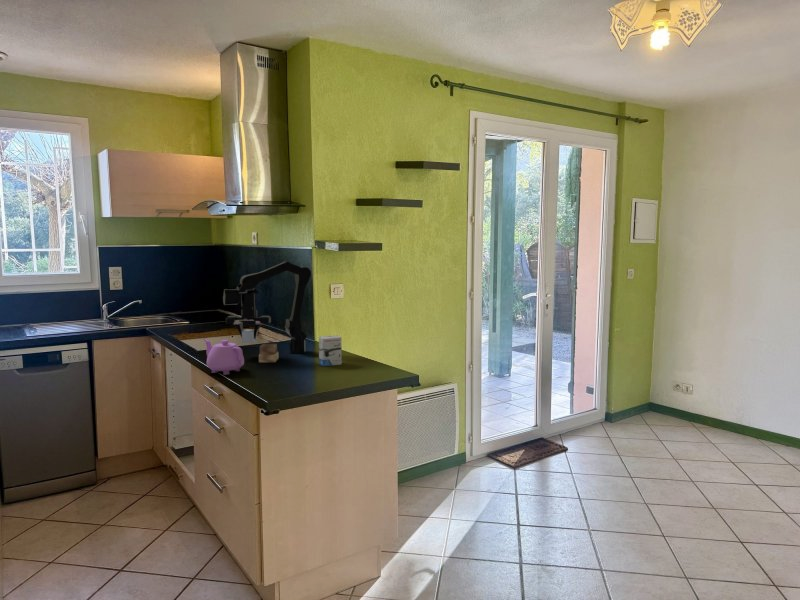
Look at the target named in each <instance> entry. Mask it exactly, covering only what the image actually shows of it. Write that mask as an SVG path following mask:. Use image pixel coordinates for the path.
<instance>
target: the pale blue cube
mask: <svg viewBox="0 0 800 600" xmlns="http://www.w3.org/2000/svg"><path fill="white" fill-rule="evenodd" d="M256 341H257V338H256V339H254V329H249V328H247V329H244V328H243V331H242V337H241V343H255V342H256Z"/></svg>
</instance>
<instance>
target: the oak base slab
mask: <svg viewBox="0 0 800 600" xmlns="http://www.w3.org/2000/svg"><path fill="white" fill-rule="evenodd" d="M278 360H279V351H278V350H277V352H276V353H275V354H274V355H260V353H259V354H258V363H276V362H277V361H278Z"/></svg>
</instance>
